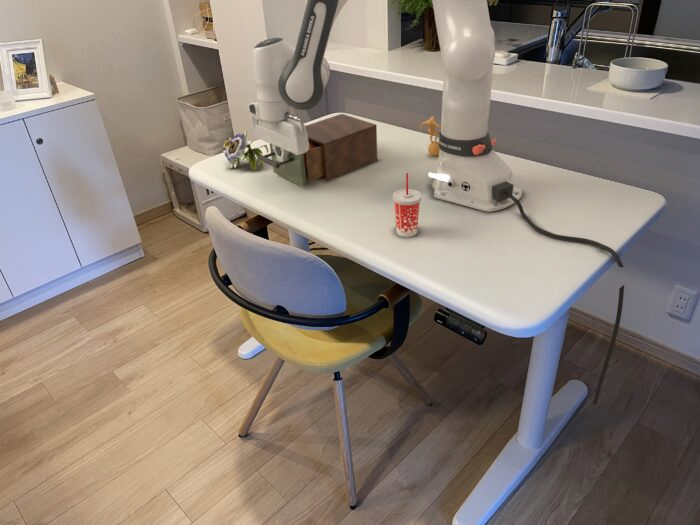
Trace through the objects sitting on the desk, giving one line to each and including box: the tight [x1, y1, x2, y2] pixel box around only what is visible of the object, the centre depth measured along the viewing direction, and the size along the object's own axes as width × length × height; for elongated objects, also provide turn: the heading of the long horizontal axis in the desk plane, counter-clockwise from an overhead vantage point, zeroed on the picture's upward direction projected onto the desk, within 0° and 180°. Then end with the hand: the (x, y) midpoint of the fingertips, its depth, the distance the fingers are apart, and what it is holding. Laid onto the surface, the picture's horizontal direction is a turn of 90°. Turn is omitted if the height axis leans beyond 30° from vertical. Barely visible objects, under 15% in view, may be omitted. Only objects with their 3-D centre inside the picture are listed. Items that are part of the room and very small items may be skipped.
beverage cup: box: [392, 172, 422, 238], centre depth 118 cm, size 6×6×14 cm
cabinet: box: [305, 113, 378, 182], centre depth 153 cm, size 19×15×11 cm
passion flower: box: [222, 129, 269, 172], centre depth 156 cm, size 11×11×12 cm
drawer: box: [257, 140, 325, 187], centre depth 147 cm, size 23×13×9 cm, turn 131°
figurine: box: [419, 115, 441, 157], centre depth 153 cm, size 8×6×12 cm
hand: (282, 161), depth 143 cm, fingers closed, pressing on drawer
